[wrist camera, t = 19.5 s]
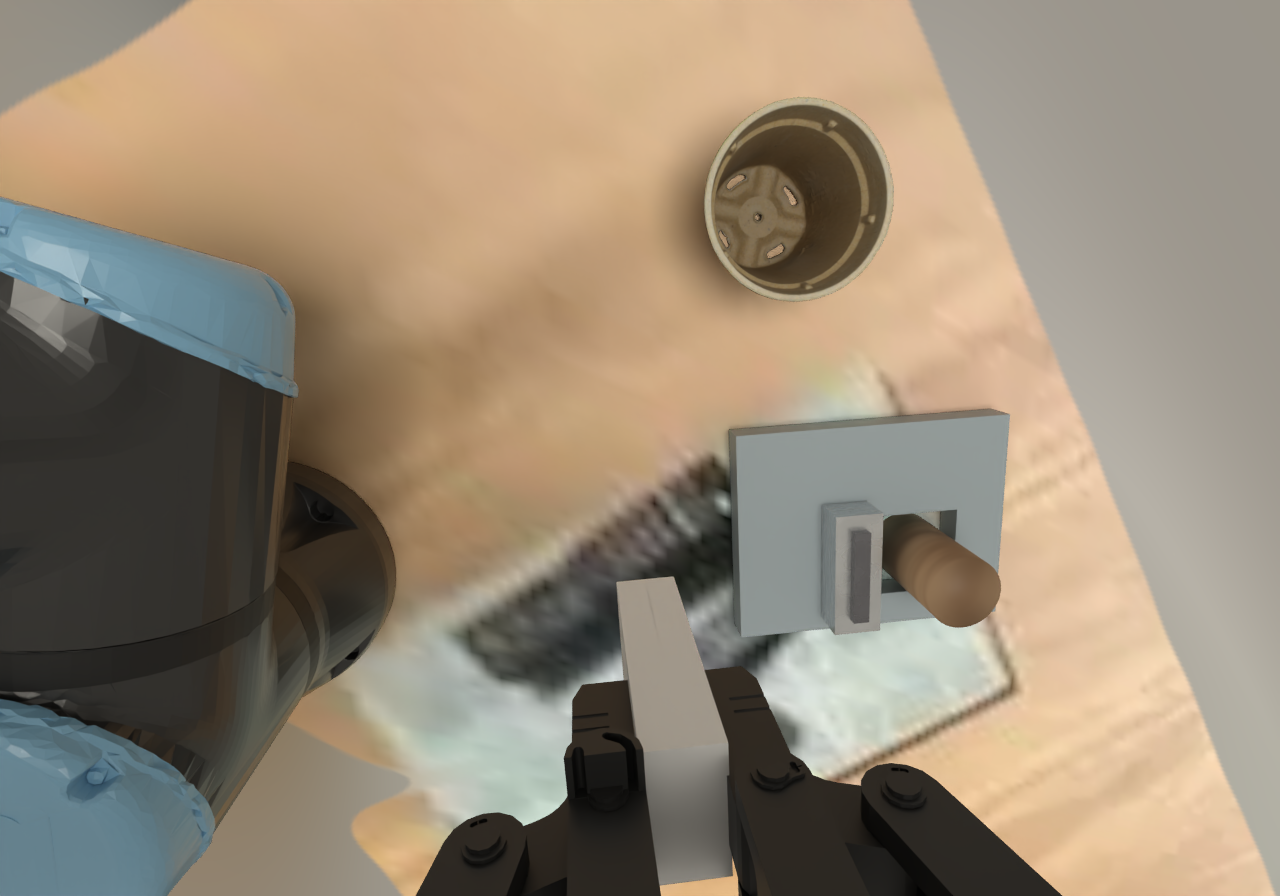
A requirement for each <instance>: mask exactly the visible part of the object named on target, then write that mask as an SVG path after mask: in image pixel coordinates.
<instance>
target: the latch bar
mask: <svg viewBox="0 0 1280 896" xmlns="http://www.w3.org/2000/svg"><path fill="white" fill-rule="evenodd" d="M882 545H883V513H882V512H881V511H880V510H878V509H877V508H876V507H874V506H873V505H872V504H870V503H869V502H868V501H857V502H845V503H834V504H823V505H822V557H821V617H822V618H823V619H824V621H825V622H826V624H827V625H828V626H829V628H830V629H831V630H832V632H833V633H834V634H835V635H839V634H849V633H858V632H868V631H878V630H880V613H881V579H882Z"/></svg>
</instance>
